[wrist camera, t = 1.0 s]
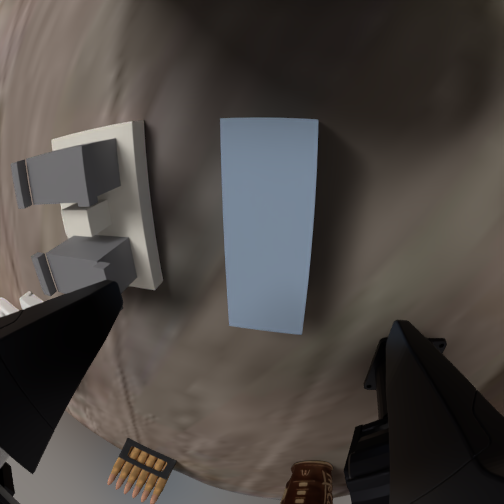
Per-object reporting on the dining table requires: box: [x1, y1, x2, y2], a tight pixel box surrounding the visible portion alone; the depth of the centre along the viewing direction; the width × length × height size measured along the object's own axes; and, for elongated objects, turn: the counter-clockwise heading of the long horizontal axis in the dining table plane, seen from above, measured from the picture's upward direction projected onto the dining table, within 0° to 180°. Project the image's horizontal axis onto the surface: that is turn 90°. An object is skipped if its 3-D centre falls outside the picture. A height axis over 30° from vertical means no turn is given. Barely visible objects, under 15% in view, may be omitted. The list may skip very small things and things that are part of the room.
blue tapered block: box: [220, 118, 318, 335], centre depth 17 cm, size 12×4×5 cm, turn 0°
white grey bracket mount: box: [11, 120, 163, 311], centre depth 19 cm, size 13×9×6 cm
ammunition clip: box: [108, 438, 176, 504], centre depth 40 cm, size 11×2×12 cm, turn 72°
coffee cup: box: [280, 461, 333, 504], centre depth 29 cm, size 9×8×13 cm
